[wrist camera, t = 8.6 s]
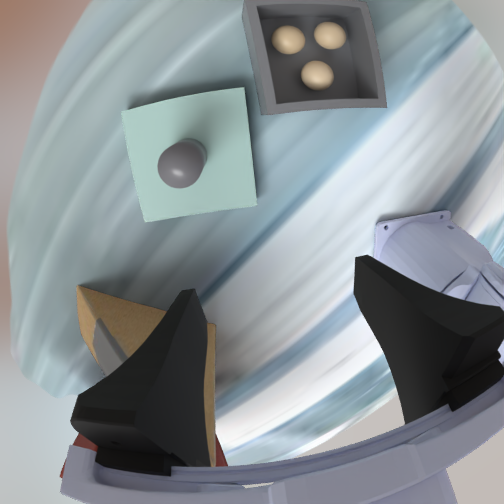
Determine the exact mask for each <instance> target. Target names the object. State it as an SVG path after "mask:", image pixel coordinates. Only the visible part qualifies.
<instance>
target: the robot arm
mask: <svg viewBox="0 0 504 504" xmlns="http://www.w3.org/2000/svg"><path fill="white" fill-rule="evenodd" d="M440 216H441V217H440ZM450 219H451V212H450V211H449V210H444V211H438V212H433V213H427V214H421V215H416V216H410V217H405V218H399V219H394V220H388V221H382V222H379V223H377V224H376V226H375V242H374V258H373V257H371V256H369V255H364V256H359V257H355V276H354V296H355V298H356V301H357V303H358V305H359V308H360V310H361V312H362V314H363V316H364V317H365V319H366V321H367V323H368V325H369V326H370V328H371V330H372V332H373V333H374V335H375V337H376V339H377V340H378V342H379V344H380V346H381V348H382V350H383V352H384V354H385V357H386V359H387V362H388V364H389V367H390V370H391V373H392V376H393V379H394V382H395V385H396V388H397V391H398V395H399V399H400V402H401V407H402V411H403V416H404V421H405V425H404V426H401V427H399V428H396V429H394V430H391V431H389V432H386V433H384V434H381V435H378V436H376V437H373V438H370V439H367V440H364V441H361V442H358V443H355V444H351V445H348V446H345V447H341V448H338V449H334V450H330V451H326V452H322V453H318V454H314V455H309V456H304V457H299V458H294V459H288V460H282V461H276V462H268V463H260V464H251V465H240V466H224V467H211V462H210V456H209V449H208V442H207V433H206V422H205V408H204V378H205V367H206V356H207V345H208V331H207V320H206V318H205V315H204V313H203V310H202V307H201V305H200V302H199V299H198V297H197V294H196V291H195V289H189V290H183V291H181V292H180V293H179V295H178V296H177V298H176V299H175V301H174V302H173V304H172V305H171V307H170V308H169V310H168V311H167V312H166V314H165V315H164V317H163V318H162V320H161V321H160V322H159V324H158V325H157V326H156V327H155V329H154V330H153V331H152V333H151V334H150V335H149V337H148V338H147V339H146V340H145V341H144V342H143V344H142V345H141V346H140V347H139V348H138V349H137V350H136V351H135V352H134V353H133V354H132V355H131V356H130V357H129V358H128V359H127V360H126V361H125V362H124V363H122V364H121V365H120V366H119V367H118V368H117V369H116V370H114V371H113V372H112V373H111V374H109V375H108V376H107V377H105V378H104V379H103V380H101V381H100V382H99V383H97V384H96V385H94V386H92V387H91V388H89V389H88V390H86V391H84V392H83V393H81V394H79V395H78V398H77V401H76V404H75V407H74V410H73V413H72V417H71V420H70V421H71V425H72V426H73V428H74V429H75V430H76V431H77V432H79V433H80V434H81V435H83V436H84V437H85V438H87V439H88V440H90V441H91V442H92V443H94V444H95V445H97V446H98V449H97V452H95V451H93V450H90V449H86V448H82V447H78V446H74V445H70V446H69V450H68V454H67V459H66V463H65V468H64V473H63V479H62V484H61V491H60V492H61V494H63V495H65V496H68V497H70V498H72V499H75V500H78V501H80V502H83V503H86V504H458V503H457V500H456V497H455V494H454V491H453V488H452V485H451V482H450V480H449V477H448V474H447V471H446V468H448V467H449V466H451V465H452V464H454V463H456V462H457V461H459V460H460V459H462V458H464V457H465V456H467V455H468V454H470V453H471V452H472V451H474V450H475V449H477V448H478V447H479V446H481V445H482V444H483V443H485V442H486V441H487V440H489V439H490V438H491V437H493V435H495V434H496V433H498V432H499V431H500V430H501V429H502V428H504V268H503V267H502V266H501V265H499V264H498V263H496V262H493V259H492V257H491V255H490V253H489V251H488V250H487V248H486V247H485V246H484V245H483V244H481V243H480V242H479V241H477V240H476V239H475V238H474V237H472V236H471V235H470V234H468V233H467V232H466V231H464V230H463V229H462V228H460V227H459V226H457V225H456V224H455V223H453V222H452V221H450ZM386 225H387V226H386ZM385 226H386V228H384V227H385ZM269 482H274V483H273V484H272V485H266V486H259V487H253V488H245V487H243V486H242V485H250V484H261V483H269Z"/></svg>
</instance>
